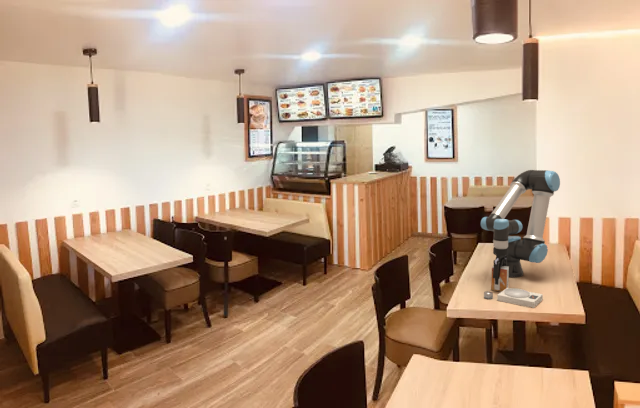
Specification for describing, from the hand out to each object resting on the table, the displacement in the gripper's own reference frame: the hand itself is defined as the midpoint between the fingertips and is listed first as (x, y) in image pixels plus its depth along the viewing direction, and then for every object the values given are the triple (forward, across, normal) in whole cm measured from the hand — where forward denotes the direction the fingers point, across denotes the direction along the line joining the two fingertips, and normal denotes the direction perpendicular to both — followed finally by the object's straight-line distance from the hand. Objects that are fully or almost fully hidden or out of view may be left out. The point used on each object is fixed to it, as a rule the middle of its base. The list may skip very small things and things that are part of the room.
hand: (499, 287), depth 251 cm
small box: (+1, 0, 0) cm, 1 cm away
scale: (+1, +10, +14) cm, 17 cm away
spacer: (+1, +16, 0) cm, 16 cm away
